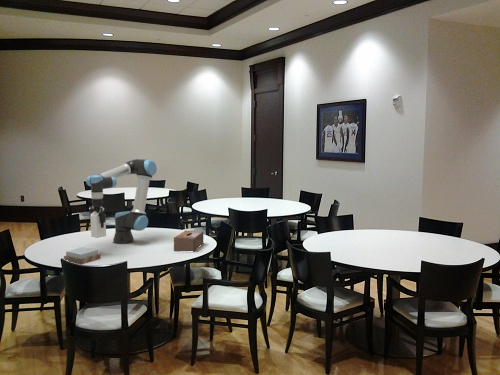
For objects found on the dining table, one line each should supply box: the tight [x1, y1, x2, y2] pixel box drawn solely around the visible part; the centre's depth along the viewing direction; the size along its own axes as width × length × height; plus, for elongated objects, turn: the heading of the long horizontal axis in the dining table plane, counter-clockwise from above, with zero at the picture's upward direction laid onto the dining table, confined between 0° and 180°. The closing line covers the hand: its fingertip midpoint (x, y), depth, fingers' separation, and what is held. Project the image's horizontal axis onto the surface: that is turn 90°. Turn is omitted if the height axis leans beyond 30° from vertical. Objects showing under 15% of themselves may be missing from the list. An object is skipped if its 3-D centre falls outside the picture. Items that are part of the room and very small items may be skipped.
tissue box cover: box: [173, 230, 204, 252], centre depth 339 cm, size 26×14×10 cm, turn 170°
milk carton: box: [90, 210, 107, 239], centre depth 313 cm, size 7×7×19 cm
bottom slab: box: [63, 253, 101, 265], centre depth 303 cm, size 16×16×3 cm
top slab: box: [65, 246, 99, 259], centre depth 302 cm, size 14×14×3 cm
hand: (98, 231), depth 314 cm, fingers closed on milk carton, 7 cm apart
